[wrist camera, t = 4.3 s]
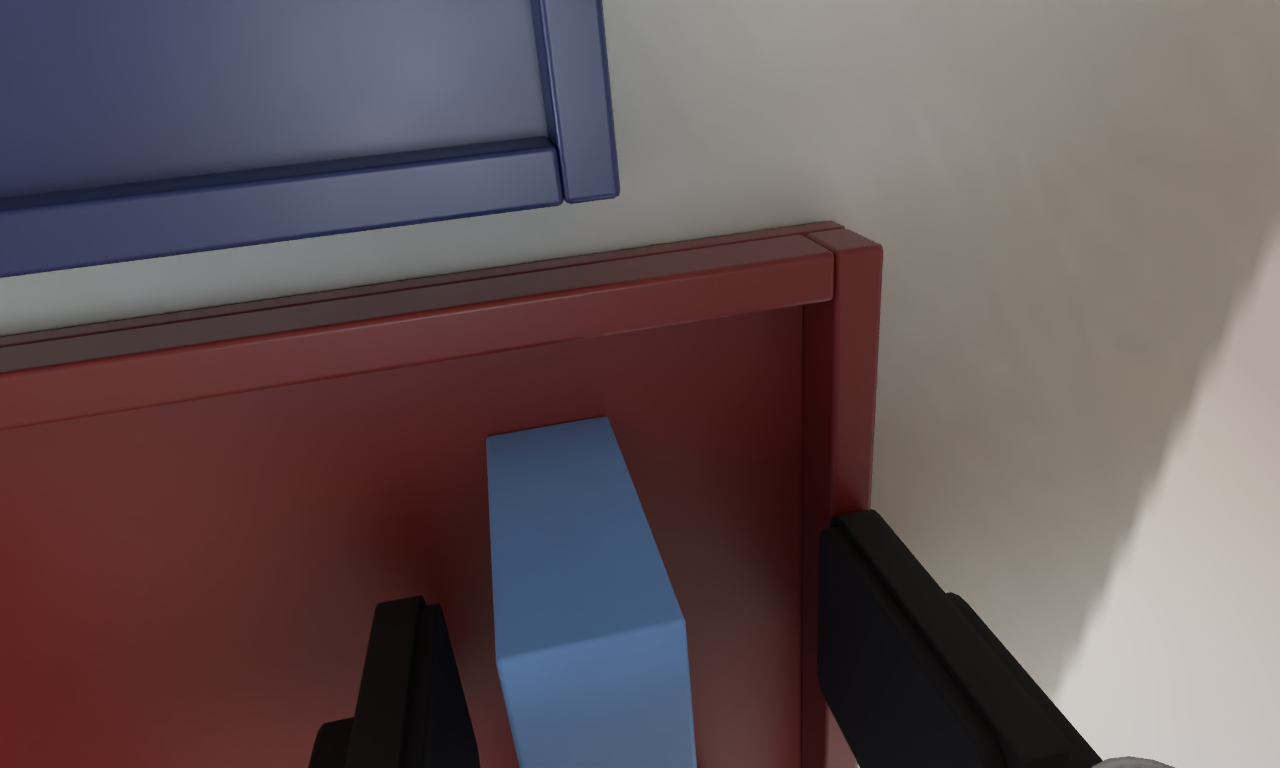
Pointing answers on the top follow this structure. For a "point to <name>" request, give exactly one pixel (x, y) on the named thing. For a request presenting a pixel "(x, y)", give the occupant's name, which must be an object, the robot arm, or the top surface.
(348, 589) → the maroon tray
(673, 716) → the blue spoon
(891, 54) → the top surface
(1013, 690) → the robot arm
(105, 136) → the navy tray
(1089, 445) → the top surface
